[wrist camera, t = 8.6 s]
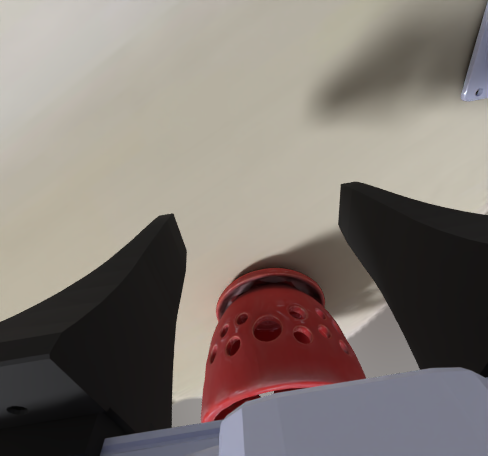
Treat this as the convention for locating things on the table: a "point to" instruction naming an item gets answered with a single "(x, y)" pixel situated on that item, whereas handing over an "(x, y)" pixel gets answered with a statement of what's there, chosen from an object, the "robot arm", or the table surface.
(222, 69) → the table surface
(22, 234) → the table surface
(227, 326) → the plant pot
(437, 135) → the table surface
